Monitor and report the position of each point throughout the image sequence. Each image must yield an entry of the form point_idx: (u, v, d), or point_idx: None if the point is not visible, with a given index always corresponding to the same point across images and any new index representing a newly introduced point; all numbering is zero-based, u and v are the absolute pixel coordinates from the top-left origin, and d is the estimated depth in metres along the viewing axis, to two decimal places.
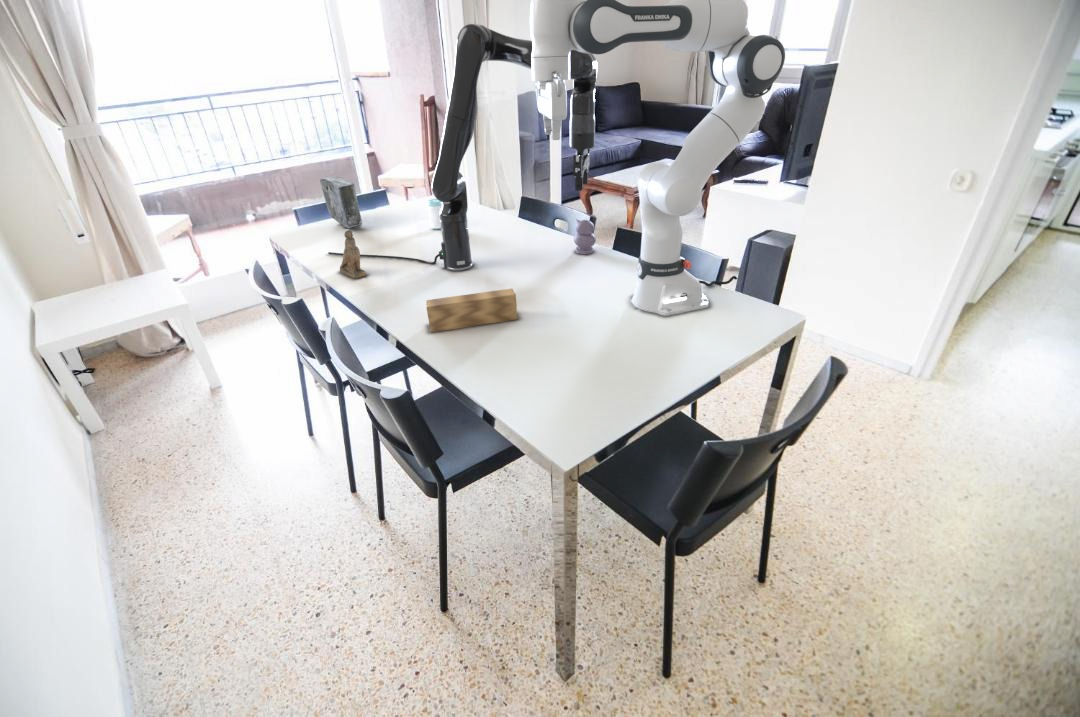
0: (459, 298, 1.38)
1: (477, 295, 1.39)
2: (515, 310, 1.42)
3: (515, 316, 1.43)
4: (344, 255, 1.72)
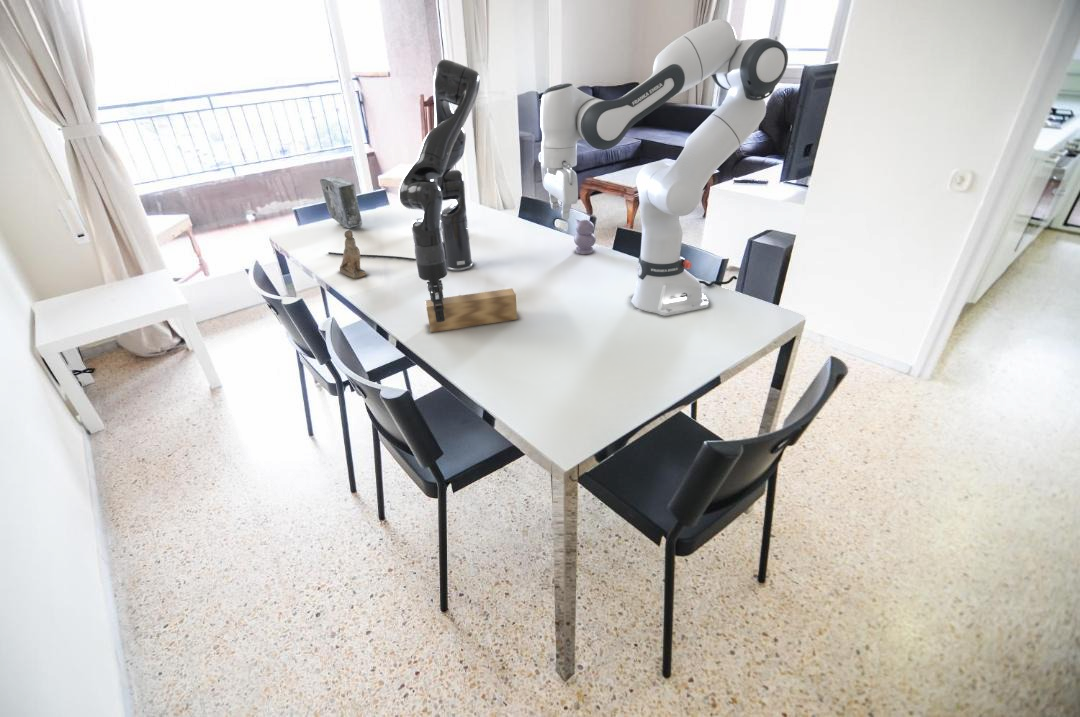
0: (459, 298, 1.38)
1: (477, 295, 1.39)
2: (515, 310, 1.42)
3: (515, 316, 1.43)
4: (344, 255, 1.72)
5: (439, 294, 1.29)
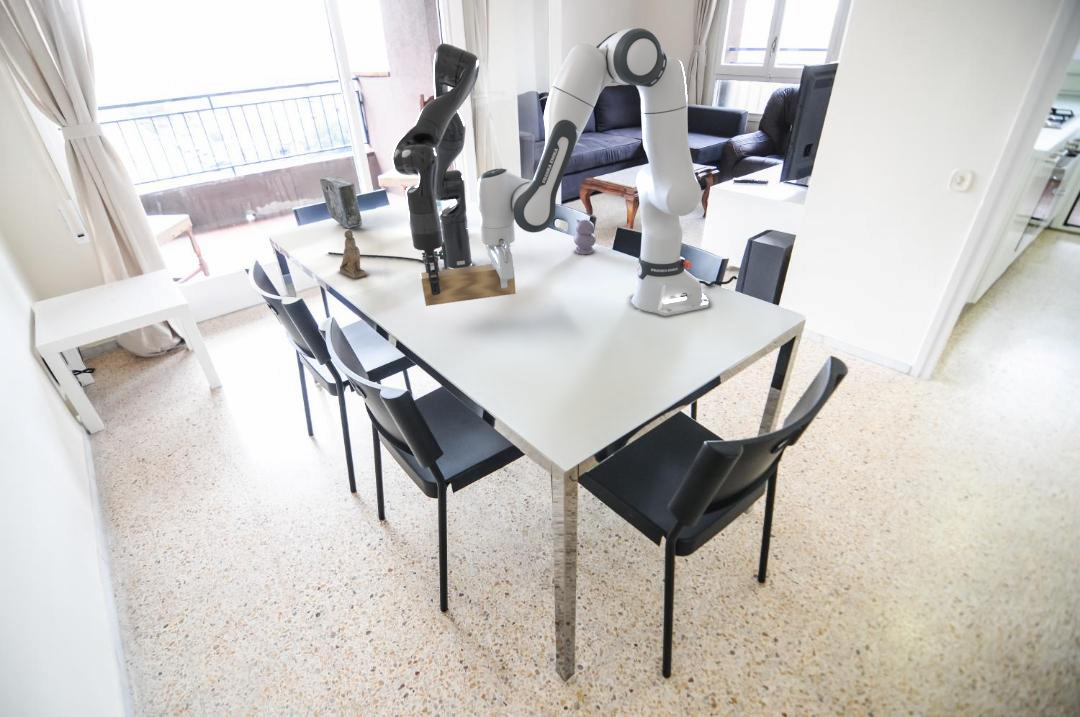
0: (456, 270, 1.34)
1: (474, 268, 1.35)
2: (513, 284, 1.37)
3: (513, 290, 1.38)
4: (344, 255, 1.72)
5: (434, 264, 1.24)
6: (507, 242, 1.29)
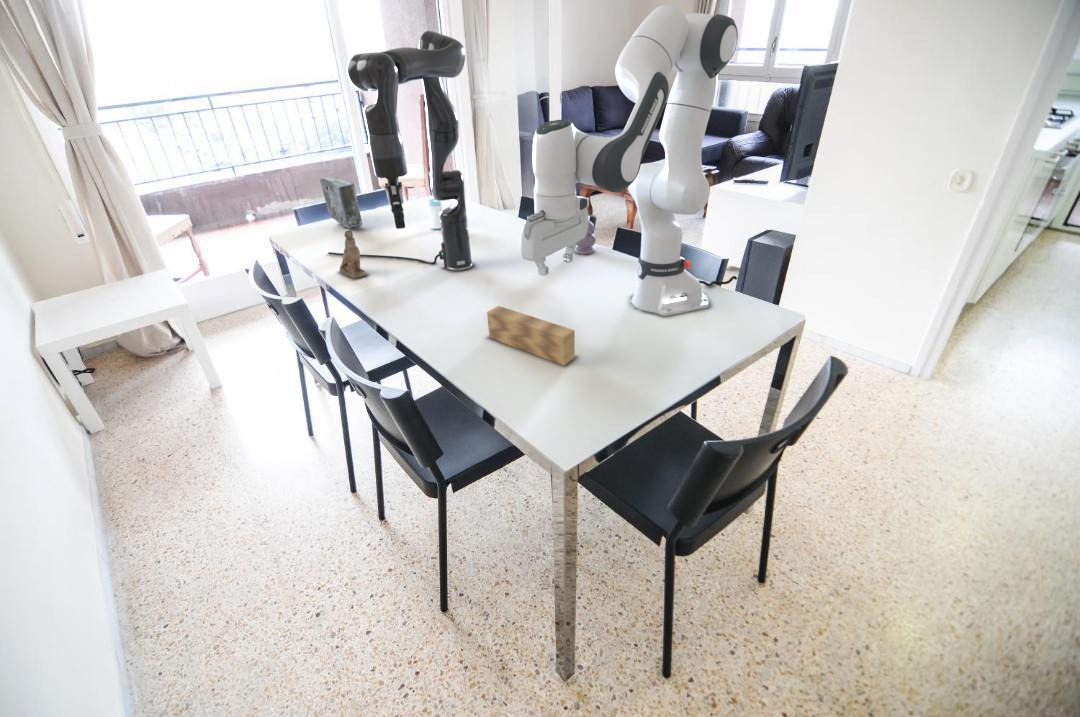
0: (520, 317, 1.27)
1: (536, 321, 1.24)
2: (562, 355, 1.20)
3: (562, 361, 1.21)
4: (344, 255, 1.72)
5: (396, 187, 1.13)
6: (550, 217, 1.02)
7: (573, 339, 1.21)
